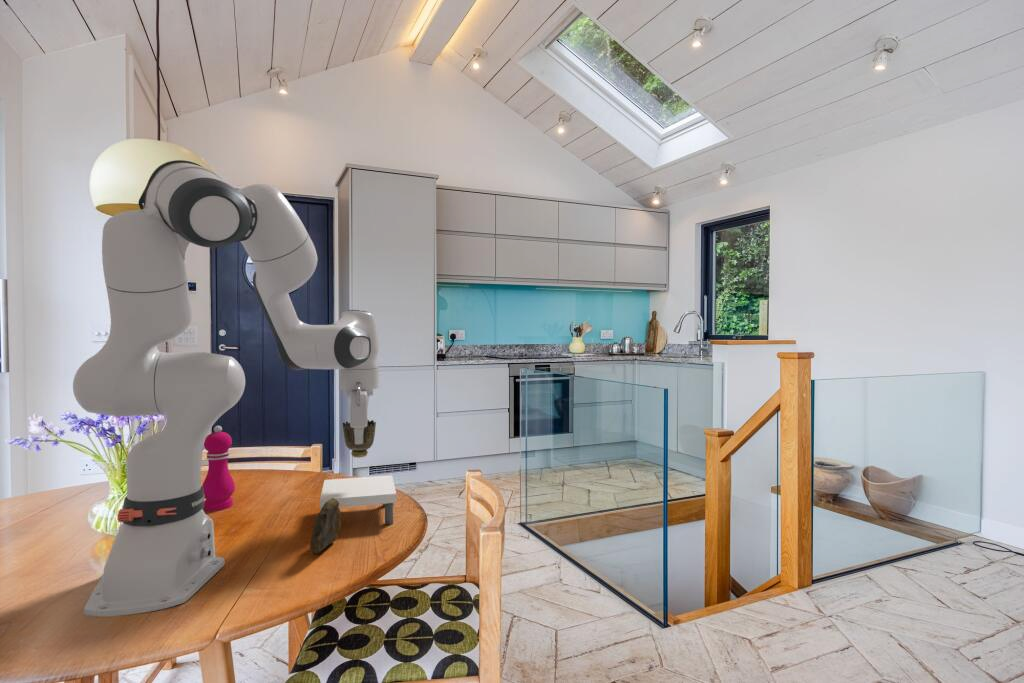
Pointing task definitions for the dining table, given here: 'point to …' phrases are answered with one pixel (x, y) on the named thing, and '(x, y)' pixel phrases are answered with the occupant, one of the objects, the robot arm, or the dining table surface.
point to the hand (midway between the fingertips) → (359, 440)
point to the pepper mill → (218, 472)
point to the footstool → (362, 493)
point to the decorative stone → (326, 526)
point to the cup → (368, 439)
